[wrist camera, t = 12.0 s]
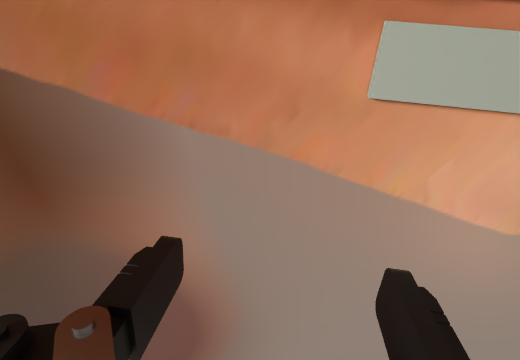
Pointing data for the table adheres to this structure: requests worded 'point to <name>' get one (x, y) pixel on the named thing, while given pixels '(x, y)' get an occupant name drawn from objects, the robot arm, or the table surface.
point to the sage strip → (448, 66)
